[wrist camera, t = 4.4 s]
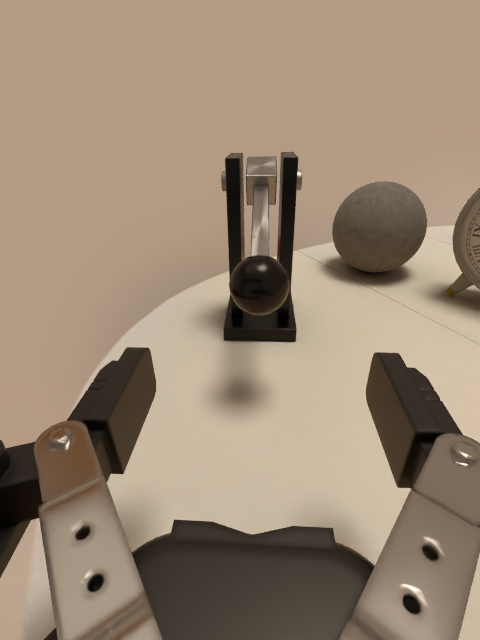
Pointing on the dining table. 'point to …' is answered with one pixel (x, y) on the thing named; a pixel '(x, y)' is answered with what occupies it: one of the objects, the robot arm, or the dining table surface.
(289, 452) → the dining table surface
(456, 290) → the alarm clock
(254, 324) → the bracket
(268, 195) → the lever
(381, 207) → the decorative ball
